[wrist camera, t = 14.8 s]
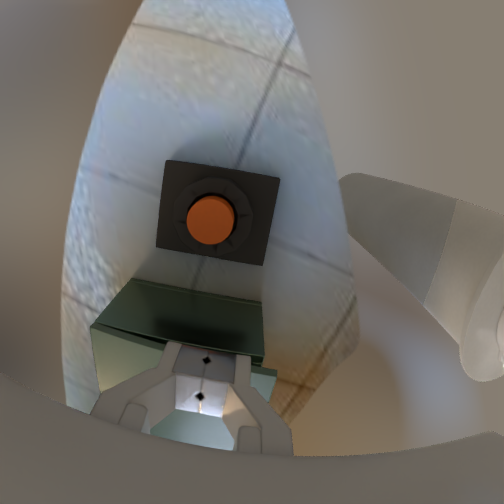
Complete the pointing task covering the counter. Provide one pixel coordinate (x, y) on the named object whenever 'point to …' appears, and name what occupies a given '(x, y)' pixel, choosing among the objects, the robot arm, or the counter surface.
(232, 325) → the green open box
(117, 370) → the green box lid
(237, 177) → the switch base
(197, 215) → the switch button
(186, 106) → the counter surface
